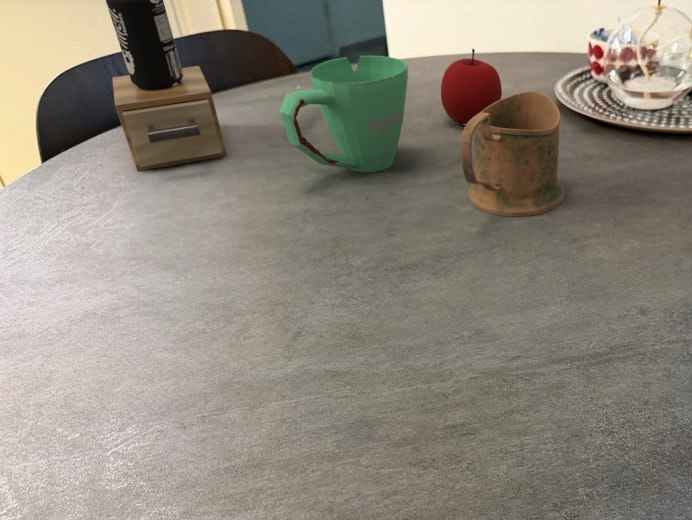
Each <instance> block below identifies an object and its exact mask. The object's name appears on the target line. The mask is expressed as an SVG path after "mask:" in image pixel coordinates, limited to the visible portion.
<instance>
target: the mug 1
mask: <svg viewBox="0 0 692 520" xmlns="http://www.w3.org/2000/svg"><path fill="white" fill-rule="evenodd" d="M356 66H357V67H356V69H355V70H354V69H353V67H352V64H351V62H350V59H349V58H348V56H347V57H346V56H345V57H339V58H335V59H330V60H327V61H324V62H322V63H318V64H317V65H315V66H314V67H312V68H311V69H310V72H309V77H310V82H311V85H312V88H313V89H300V90H297V91H293V92H290V93H287V94H285V95H284V98H283V101H282V104H281V107H280V110H279V114H280V117H281V120H282V123H283V128H284V131H285V133H286V136H287V140H288V142H289V143H290V144H291V145H292V146H294V147H296V148H297V149H298V150H300V151H301V152H302V153H304V154H305V155H307V156H308V157H310V158H311V159H312V160H314V161H315V162H317V163H318V164H320V165H323V166H330V167H339V168H348V169H350V170H352V171H354V172H358V173H377V172H381V171H385V170H387V169H388V168H390V167H391V166H392V165H393V164H394V160H395V157H396V154H397V150H398V146H399V143H400V139H401V133H402V127H403V123H404V117H405V106H406V98H407V87H408V77H409V73H408V72H409V71H408V70H409V69H408V64H407V63H406V62H404V61H403V60H401V59H399V58H395V57H390V56H386V55H385V56H384V55H359V57H358V59H357V65H356ZM309 105H320V108H321V111H322V114H323V116H324V120H325V122H326V125H327V127H328V129H329V131H330V133H331V135H332V138H333V141H334V142H335V144H336V147H337V148H338V150H339V151H340V153H341V155H337V154H329V153H323V152H321V151H320V150H319V149H318V148H317V147H315V146H314V145H313V144H312V143H311V142H310V141H309V140H308V139H307V138H306V137H305V136H304V135H303V134H302V131H301V127H300V124H299V122H298V119H297V116H298V114H299V112H300V110H301V108H304V107H306V106H309Z"/></svg>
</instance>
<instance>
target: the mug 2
mask: <svg viewBox="0 0 692 520" xmlns="http://www.w3.org/2000/svg"><path fill="white" fill-rule="evenodd" d="M560 119H561V113H560V110H559V107H558V106H557V104H556V103H555V102H554V101H553V100H552V99H551V98H550V97H549V96H547V95H546V94H544V93H541V92H539V91H534V90H527V91H521V92H518V93H515V94H511V95H509V96H506V97H504V98H501V100H499V101H497V102H495V103H493V104H491V105H490V106H488V107H487V108H485V109H484V110H483V111H482V112H480V113H478V114H477V115H476V116H474V117H473V118H472V119H471V120H470V121H469V122H468V123H467V124H466V126H465V125H464V128H463V130H462V133H461V137H460V159H461V160H460V161H461V167H462V172H463V175H464V177H465V180H466V181H467V182H468V183H470V186H469V187H468V188H467V199H468V202H469V203H470V204H471V205H472V206H473V207H475V208H476V209H478V210H480V211H482V212H485V213H487V214H492V215H495V216H503V217H527V216H534V215H539V214H543V213H546V212H549V211H551V210H553V209H555V208H557V207H558V206H560V204H562V203H563V201H564V200H565V193H566V190H565V187H564V186H563V185H562V183H561V181H559V179H558V169H559V155H560V154H559V145H560V124H561V123H560V122H561V120H560ZM472 143H473V145H472ZM472 146H474V148H473V149H474V157H473V155H472V152H473V151H472ZM473 161H474V165H473Z"/></svg>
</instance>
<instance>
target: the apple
mask: <svg viewBox="0 0 692 520" xmlns="http://www.w3.org/2000/svg"><path fill="white" fill-rule="evenodd" d="M471 55H472V56H471V58H462V59H457V60H455V61H453V62H452V63H451V64H449V66H447V68H446V69H445V71H444V73H443V76H442V79H441V83H440V84H441V85H440V99H441V103H442V107H443V109H444V111H445V113H446V114H447V116H448V117H449V118H450V119H451V120H452V121H454V122H455V123H457V124H458V123H459V124H458V125H460V124H467V123H468V122H469V121H470V120H471V119H472V118H473V117H474V116H476V115H477V114H478V113H480V112H482V111H483V110H484V109H485V108H487V107H488V106H490V105H491V104H493V103H495V102H497V101H499V100H501V99H502V94H503V92H502V91H503V90H502V89H503V87H502V82H501V77H500V75H499V73H498V71H497V69H496V68H495V67H494V66H492V65H491V64H489V63H487V62H485V61H482V60H480V59H476V58H475V49H474V48H471Z"/></svg>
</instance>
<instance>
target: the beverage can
mask: <svg viewBox="0 0 692 520" xmlns="http://www.w3.org/2000/svg"><path fill="white" fill-rule="evenodd" d="M105 2H106V6H107V10H108V12H109V16H110V18H111V21H112V25H113V28H114V32H115V35H116V38H117V40H118V44H119V47H120V49H121V53H122V56H123V60H124V63H125V66H126V68H127V72H128V75H130V78H131V81H132V83H133V84H135V85H136V86H137V87H138V88H140V89H143V90H160V89H166V88H170V87H173V86H176V85H178V84H179V83H180V82H181V79H182V78H183V71H182V68H183V66H182V64H181V60H180V56H179V53H178V49H177V46H176V43H175V42H176V41H175V38H174V35H173V31H172V26H171V23H170V20H169V16H168V12H167V8H166V4H165V1H164V0H105Z"/></svg>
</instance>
